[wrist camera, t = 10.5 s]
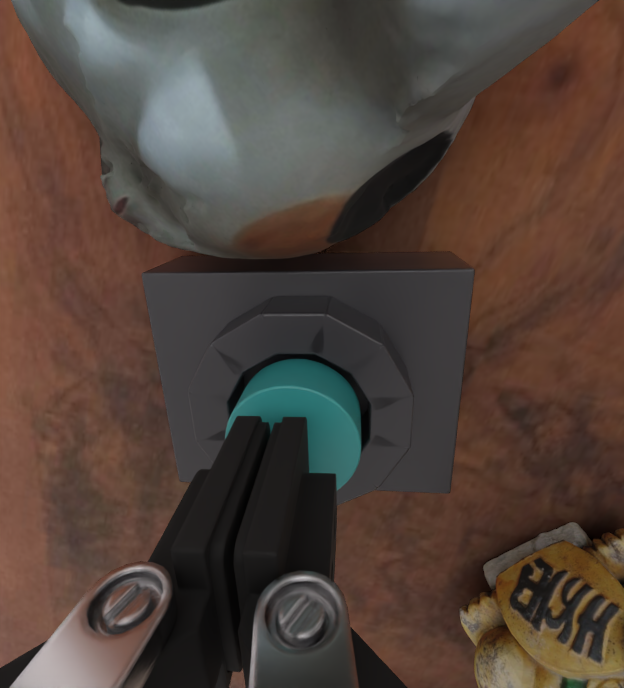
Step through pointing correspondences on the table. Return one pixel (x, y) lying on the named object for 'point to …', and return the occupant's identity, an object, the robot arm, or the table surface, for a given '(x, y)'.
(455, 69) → the lucky cat figurine
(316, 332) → the button base
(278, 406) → the button
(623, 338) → the table surface
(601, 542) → the decorative figurine
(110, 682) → the robot arm
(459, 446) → the table surface
